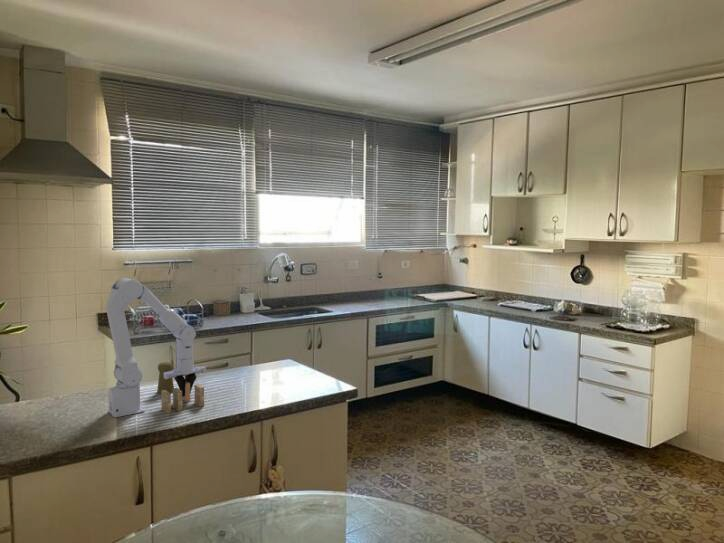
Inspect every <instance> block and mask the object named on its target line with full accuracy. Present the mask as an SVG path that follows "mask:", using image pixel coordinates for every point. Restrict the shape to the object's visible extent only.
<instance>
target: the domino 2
mask: <svg viewBox="0 0 724 543" xmlns="http://www.w3.org/2000/svg"><path fill="white" fill-rule="evenodd" d="M183 399H184V400H183ZM182 400H183V401H185V402H186V401H188V402H191V393H190V383H189V382H188V381H185V396H184V397H183V396H182Z"/></svg>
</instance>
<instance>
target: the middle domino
mask: <svg viewBox="0 0 724 543" xmlns="http://www.w3.org/2000/svg"><path fill="white" fill-rule="evenodd" d="M173 407H174V408H173ZM172 408H173V409H175V411H177V410H178V411H177V412H181V410H182V411H183V399H182V391H181V390H180V389H179V387H178V388H177V387H174V388H173V393H172Z"/></svg>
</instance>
